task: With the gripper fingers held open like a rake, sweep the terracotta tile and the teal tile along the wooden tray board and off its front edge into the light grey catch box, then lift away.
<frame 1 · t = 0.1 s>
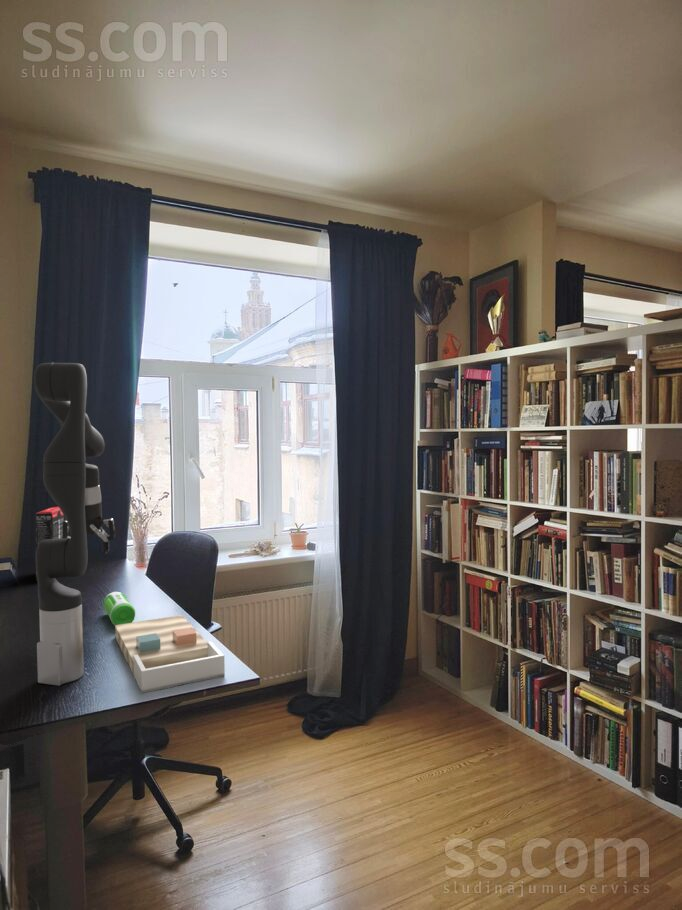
hand: (90, 553, 176), 22 cm above the table, tool pointing down, fingers open, 8 cm apart
speaker: (119, 621, 184), on the table
graphics card box: (51, 576, 240), on the table
teal tile: (148, 647, 151), point 3 cm above the table, touching wooden tray board
wooden tray board: (160, 648, 160), on the table
terracotta tile: (184, 641, 156), point 3 cm above the table, touching wooden tray board
catch box: (178, 675, 143), on the table
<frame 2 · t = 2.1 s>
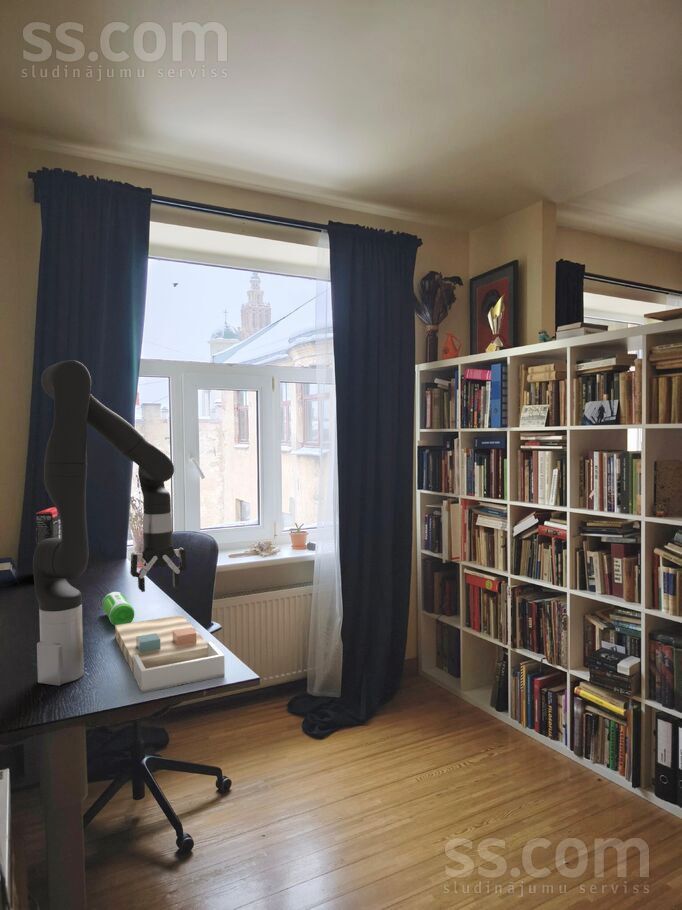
hand: (159, 588, 160), 16 cm above the table, tool pointing down, fingers open, 8 cm apart
nothing on the table moved.
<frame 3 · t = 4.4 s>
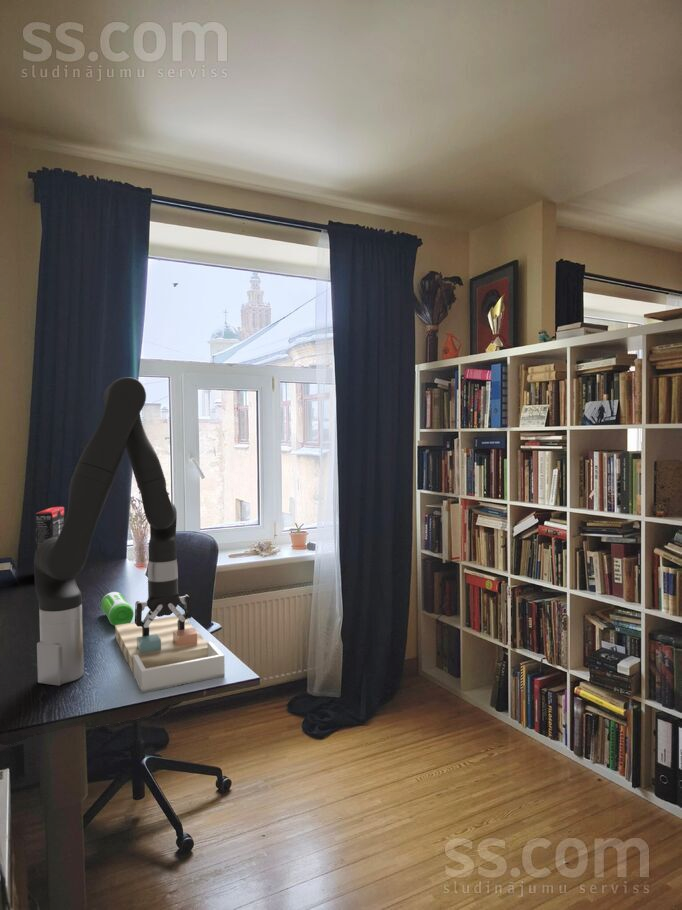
hand: (163, 637, 156), 4 cm above the table, tool pointing down, fingers open, 8 cm apart
teal tile: (148, 648, 151), point 4 cm above the table
terracotta tile: (185, 641, 155), point 4 cm above the table, touching gripper
everything else where it was.
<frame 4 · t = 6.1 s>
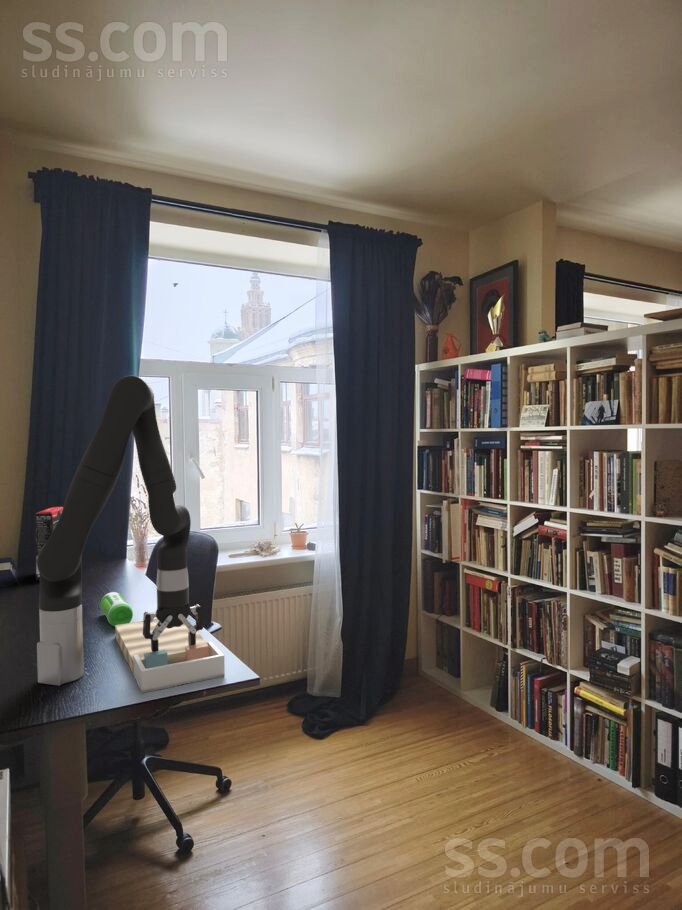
hand: (173, 650, 147), 4 cm above the table, tool pointing down, fingers open, 8 cm apart
teal tile: (154, 661, 143), point 3 cm above the table, tilted 90°, touching catch box
terracotta tile: (195, 654, 148), point 3 cm above the table, tilted 90°, touching catch box
everything else where it was.
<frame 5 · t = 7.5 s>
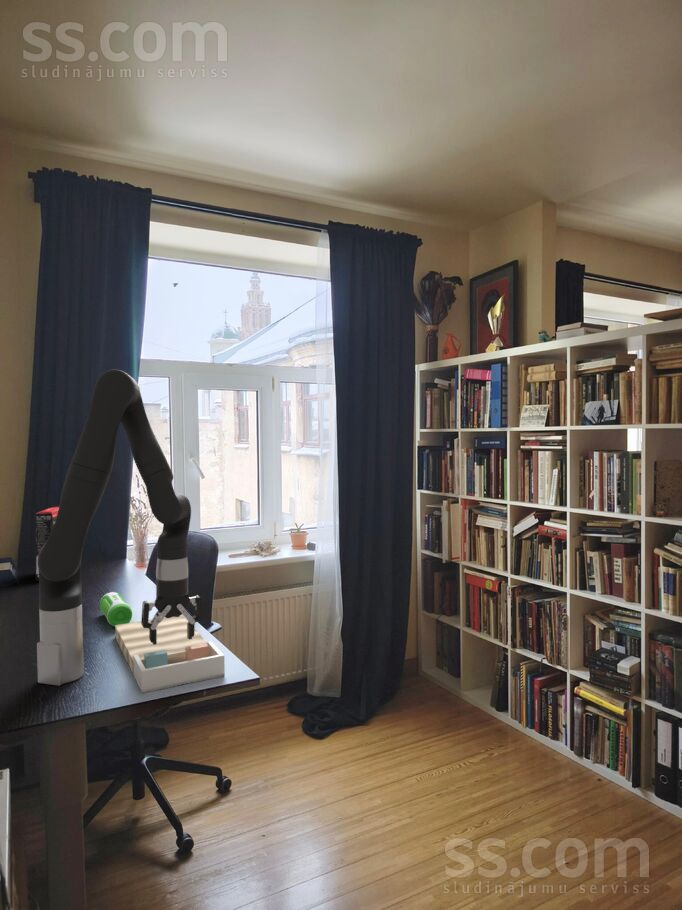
hand: (172, 641, 146), 7 cm above the table, tool pointing down, fingers open, 8 cm apart
nothing on the table moved.
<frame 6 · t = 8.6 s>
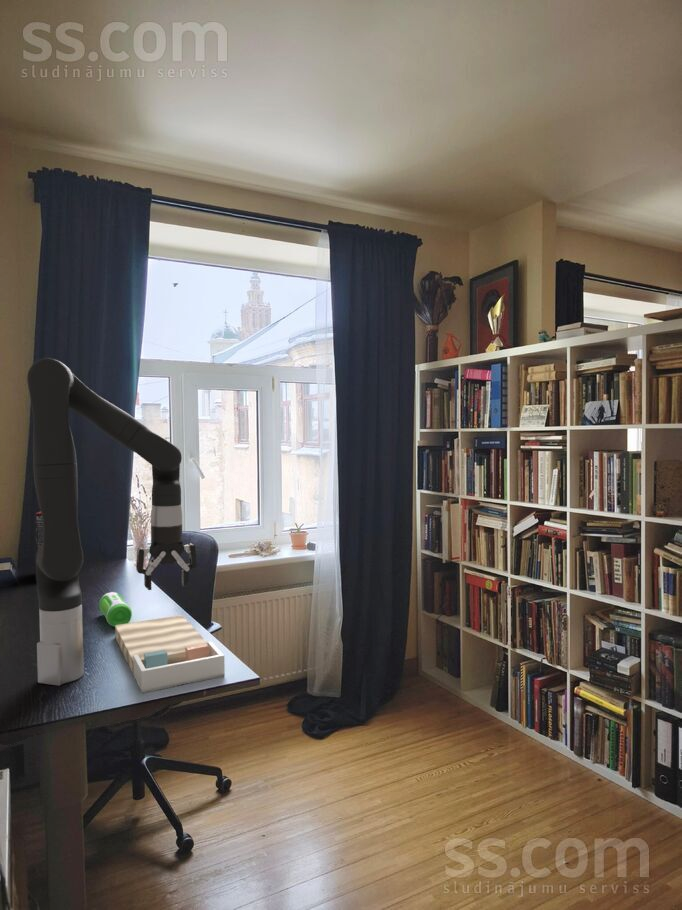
hand: (166, 587, 149), 20 cm above the table, tool pointing down, fingers open, 8 cm apart
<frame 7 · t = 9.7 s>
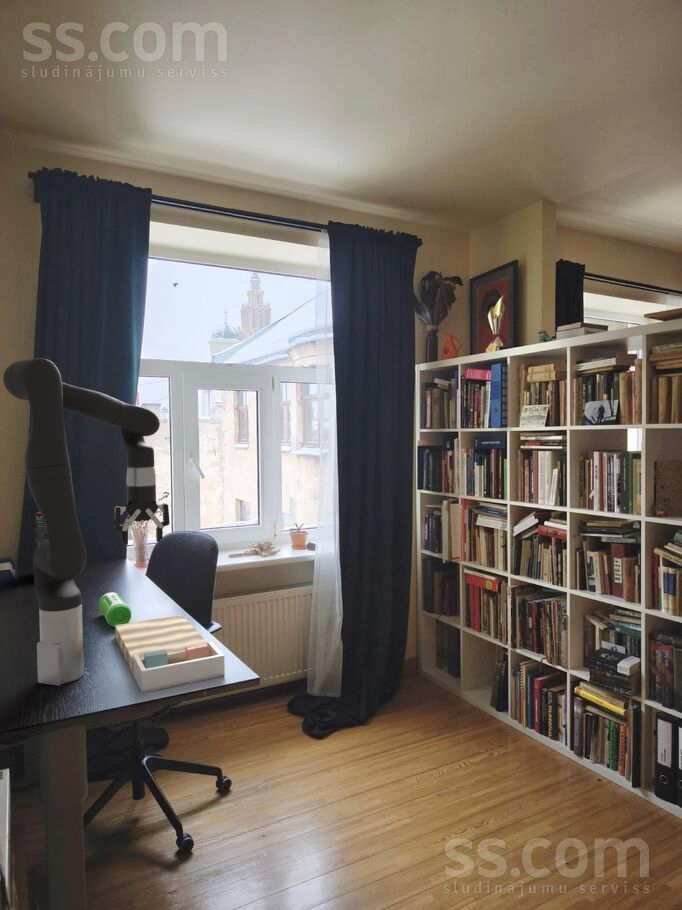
hand: (142, 542, 162), 28 cm above the table, tool pointing down, fingers open, 8 cm apart
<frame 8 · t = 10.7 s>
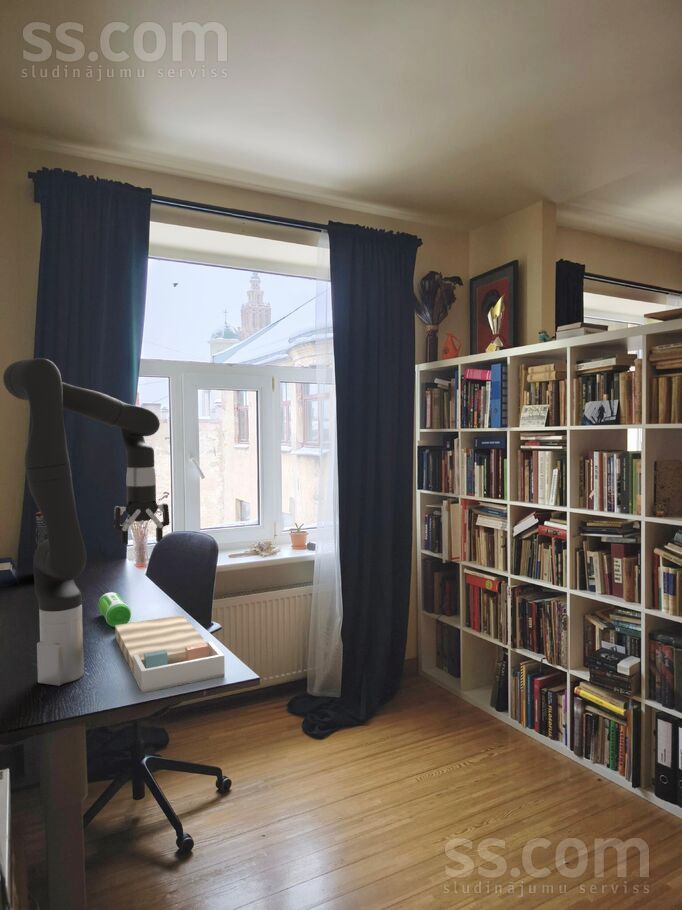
hand: (142, 542, 162), 28 cm above the table, tool pointing down, fingers open, 8 cm apart
at the end: terracotta tile inside the target area on the catch box (5.6 cm from its centre), point 3.1 cm above the catch box's base; teal tile inside the target area on the catch box (5.8 cm from its centre), point 3.1 cm above the catch box's base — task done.
